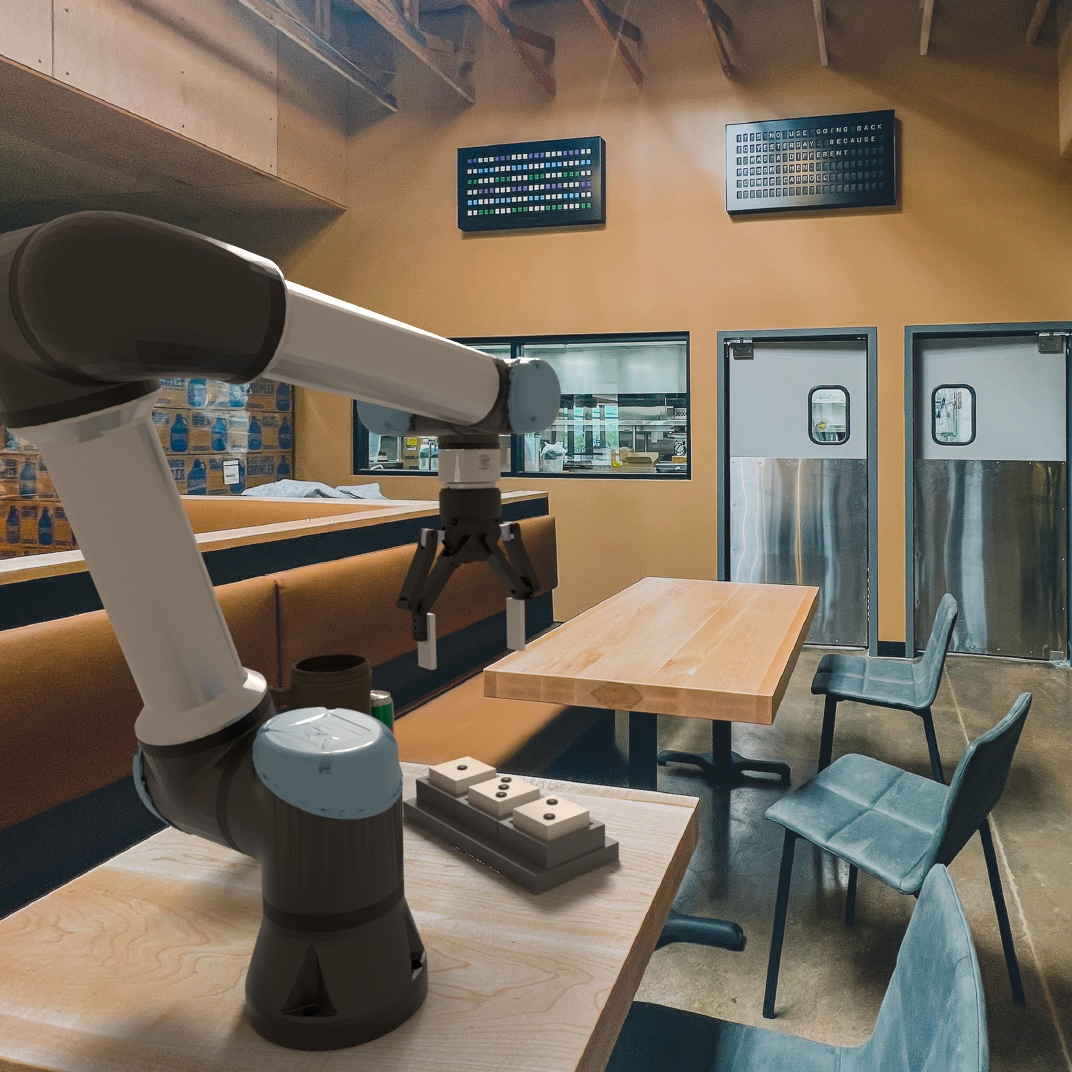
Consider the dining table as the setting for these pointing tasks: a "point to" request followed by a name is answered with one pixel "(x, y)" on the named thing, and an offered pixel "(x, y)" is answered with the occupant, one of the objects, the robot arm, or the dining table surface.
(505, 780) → the tile three dots
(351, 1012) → the robot arm
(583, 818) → the tile two dots
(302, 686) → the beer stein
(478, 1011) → the dining table surface
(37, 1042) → the dining table surface
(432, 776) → the tile one dot
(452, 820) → the button panel
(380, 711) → the soda can
